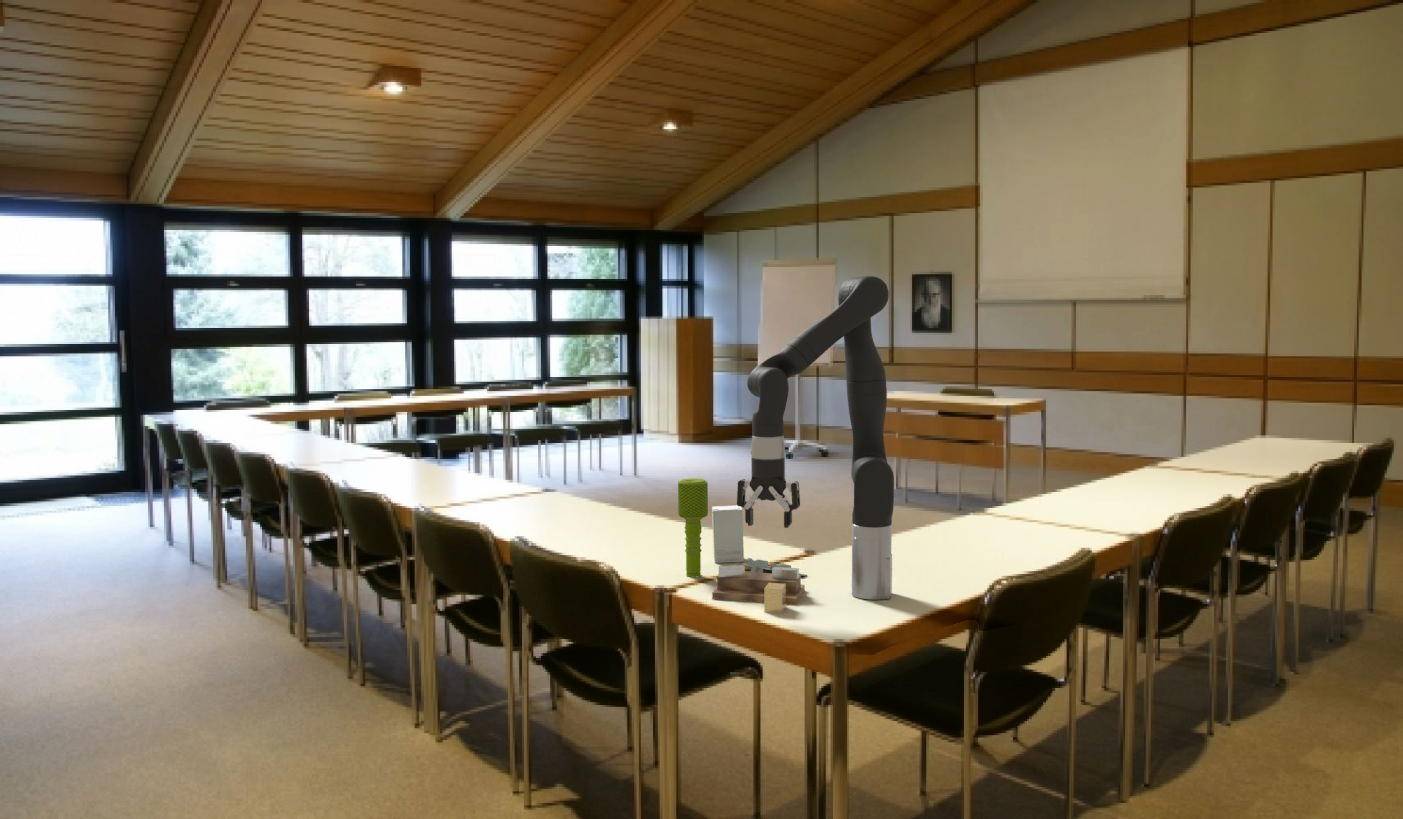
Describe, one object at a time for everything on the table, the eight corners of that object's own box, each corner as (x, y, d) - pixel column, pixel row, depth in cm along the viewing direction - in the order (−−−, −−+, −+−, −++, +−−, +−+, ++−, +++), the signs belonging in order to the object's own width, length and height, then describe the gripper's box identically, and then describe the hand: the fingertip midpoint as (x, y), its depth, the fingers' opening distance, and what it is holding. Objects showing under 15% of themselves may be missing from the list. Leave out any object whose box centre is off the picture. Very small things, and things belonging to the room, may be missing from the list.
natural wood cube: (768, 606, 232) (768, 582, 232) (785, 607, 231) (785, 583, 231) (764, 612, 228) (764, 588, 227) (781, 613, 227) (781, 589, 226)
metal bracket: (780, 564, 249) (732, 555, 259) (776, 587, 248) (728, 577, 258) (811, 569, 260) (764, 560, 269) (807, 591, 259) (760, 582, 269)
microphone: (702, 580, 255) (701, 482, 253) (674, 577, 258) (673, 480, 255) (712, 572, 263) (712, 477, 260) (685, 570, 265) (684, 475, 263)
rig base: (804, 590, 245) (804, 572, 244) (796, 604, 233) (796, 585, 233) (724, 585, 250) (724, 567, 250) (712, 598, 238) (712, 580, 238)
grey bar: (798, 577, 240) (798, 568, 240) (795, 582, 236) (795, 572, 236) (720, 572, 245) (720, 563, 244) (716, 577, 241) (716, 568, 240)
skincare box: (742, 557, 278) (742, 504, 277) (744, 563, 272) (744, 508, 271) (712, 558, 278) (711, 505, 277) (713, 563, 272) (712, 509, 271)
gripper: (802, 454, 229) (803, 524, 231) (742, 452, 234) (743, 521, 236) (794, 459, 222) (794, 531, 224) (732, 456, 227) (733, 527, 229)
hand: (768, 526), depth 230 cm, fingers open, 8 cm apart
